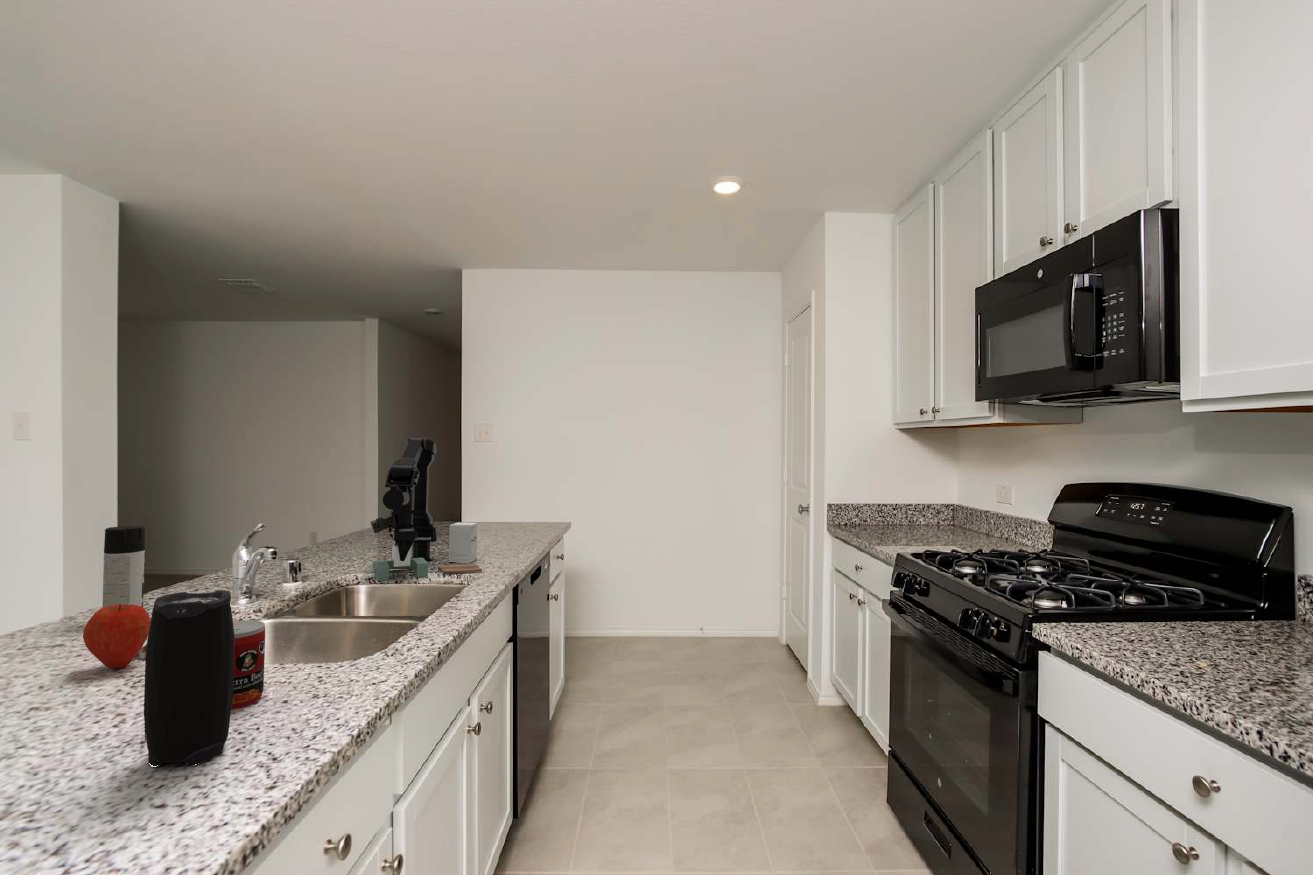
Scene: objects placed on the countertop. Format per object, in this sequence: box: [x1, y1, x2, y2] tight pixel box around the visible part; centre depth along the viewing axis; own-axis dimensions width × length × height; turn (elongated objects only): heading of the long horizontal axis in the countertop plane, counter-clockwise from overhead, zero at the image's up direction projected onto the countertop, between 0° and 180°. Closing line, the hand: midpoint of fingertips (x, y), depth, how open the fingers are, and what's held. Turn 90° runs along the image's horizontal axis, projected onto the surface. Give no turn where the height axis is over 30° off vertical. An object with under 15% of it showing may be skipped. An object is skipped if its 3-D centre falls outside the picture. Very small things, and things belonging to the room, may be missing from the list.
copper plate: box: [437, 562, 483, 576], centre depth 193 cm, size 11×11×1 cm
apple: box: [82, 604, 151, 669], centre depth 106 cm, size 9×8×11 cm
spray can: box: [102, 525, 146, 608], centre depth 133 cm, size 7×7×20 cm
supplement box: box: [448, 522, 478, 564], centre depth 208 cm, size 7×7×13 cm
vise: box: [365, 558, 429, 582], centre depth 186 cm, size 15×16×4 cm
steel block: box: [391, 543, 412, 567], centre depth 184 cm, size 4×4×6 cm
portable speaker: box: [143, 589, 235, 766], centre depth 78 cm, size 9×9×20 cm
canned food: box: [231, 619, 266, 711], centre depth 94 cm, size 8×8×11 cm
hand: (401, 559), depth 184 cm, fingers closed on steel block, 4 cm apart
